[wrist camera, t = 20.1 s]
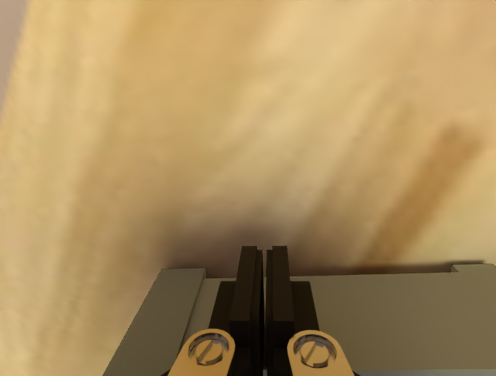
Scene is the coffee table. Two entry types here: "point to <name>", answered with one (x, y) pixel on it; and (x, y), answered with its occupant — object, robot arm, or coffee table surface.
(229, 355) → the robot arm
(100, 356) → the coffee table surface
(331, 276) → the gate
